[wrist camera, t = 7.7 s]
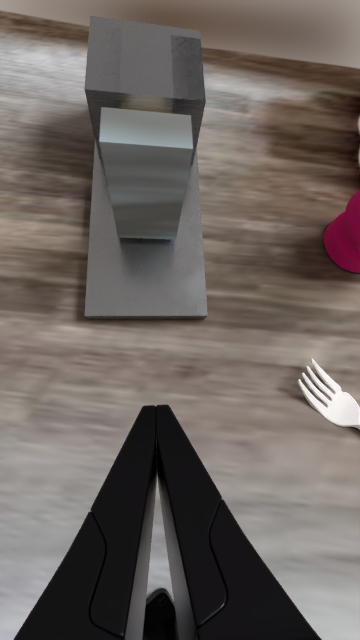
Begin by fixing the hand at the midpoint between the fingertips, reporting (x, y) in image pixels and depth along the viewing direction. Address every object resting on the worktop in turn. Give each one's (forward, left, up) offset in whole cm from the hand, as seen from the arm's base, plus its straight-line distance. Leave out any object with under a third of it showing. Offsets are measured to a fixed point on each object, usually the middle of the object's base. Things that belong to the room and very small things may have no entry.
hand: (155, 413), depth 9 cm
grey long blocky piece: (+10, +16, -13) cm, 23 cm away
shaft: (+11, +18, -11) cm, 24 cm away
